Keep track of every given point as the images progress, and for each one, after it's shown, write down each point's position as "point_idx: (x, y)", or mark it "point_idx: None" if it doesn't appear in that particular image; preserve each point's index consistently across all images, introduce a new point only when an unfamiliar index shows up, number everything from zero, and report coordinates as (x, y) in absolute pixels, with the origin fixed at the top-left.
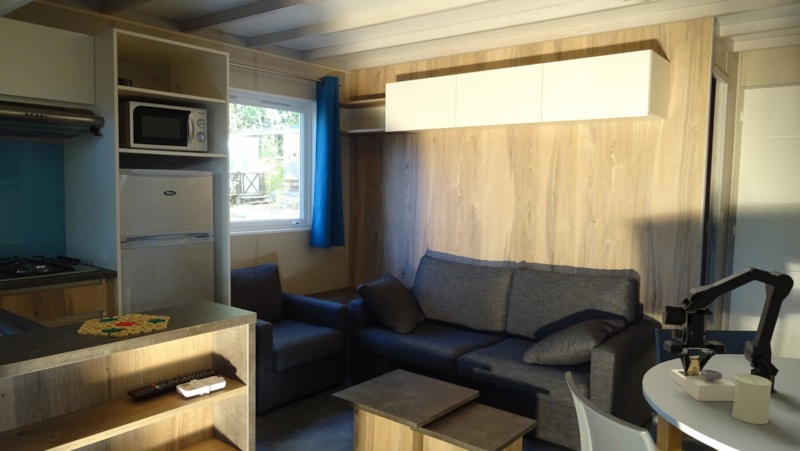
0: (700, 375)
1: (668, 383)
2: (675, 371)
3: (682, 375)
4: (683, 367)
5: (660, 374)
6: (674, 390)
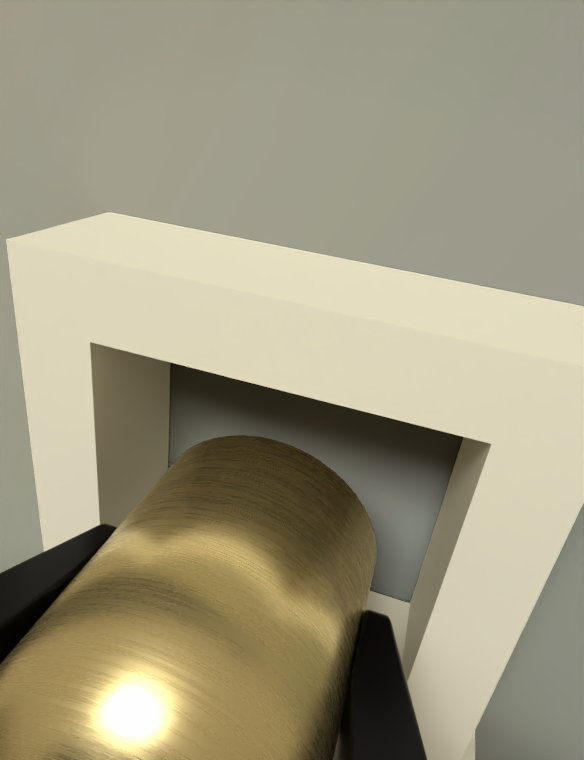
0: (446, 548)
1: (13, 387)
2: (50, 357)
3: (83, 524)
4: (38, 571)
5: (24, 15)
6: (6, 544)
